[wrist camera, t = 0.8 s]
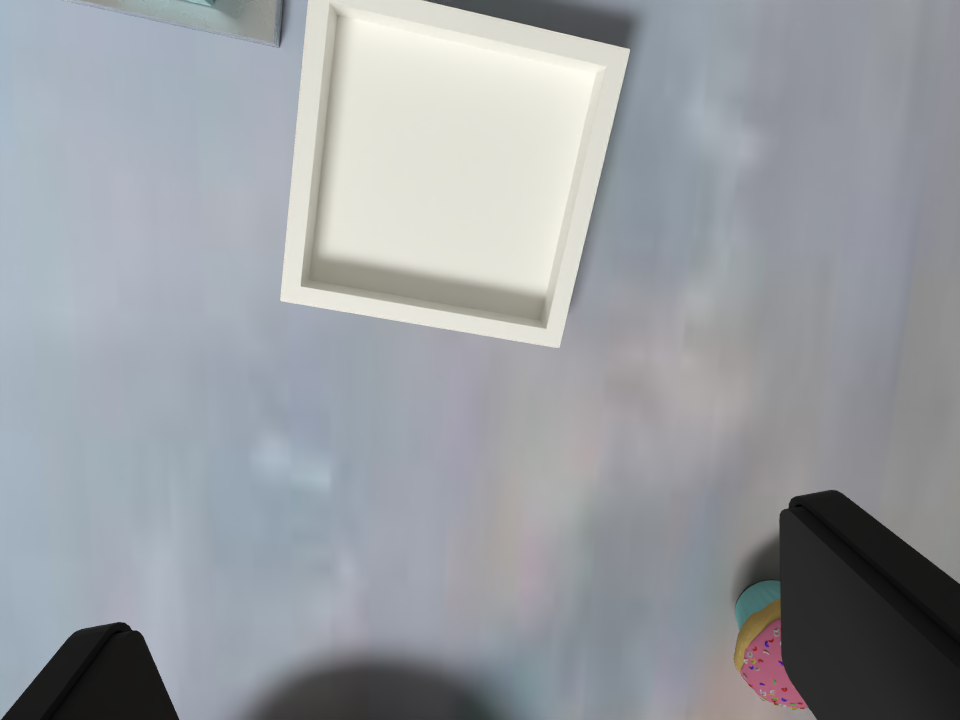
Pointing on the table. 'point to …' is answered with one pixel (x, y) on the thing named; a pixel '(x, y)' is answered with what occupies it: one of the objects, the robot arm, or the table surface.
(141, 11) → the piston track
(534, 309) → the tray
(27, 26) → the table surface
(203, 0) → the teal block
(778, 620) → the cupcake
